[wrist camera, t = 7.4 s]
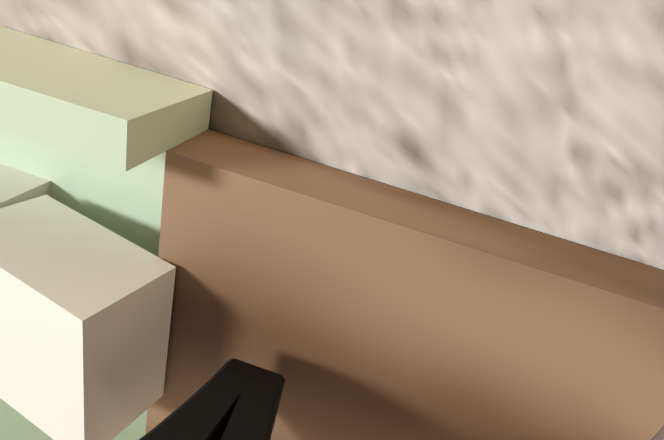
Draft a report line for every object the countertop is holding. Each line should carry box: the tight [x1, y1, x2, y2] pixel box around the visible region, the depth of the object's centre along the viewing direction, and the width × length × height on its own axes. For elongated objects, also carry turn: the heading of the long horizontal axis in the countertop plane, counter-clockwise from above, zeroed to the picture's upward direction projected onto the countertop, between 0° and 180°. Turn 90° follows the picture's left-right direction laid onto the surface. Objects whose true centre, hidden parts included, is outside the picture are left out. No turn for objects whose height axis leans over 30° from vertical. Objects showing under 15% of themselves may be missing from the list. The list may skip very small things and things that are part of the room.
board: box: [146, 129, 664, 440], centre depth 12 cm, size 10×12×2 cm
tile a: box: [0, 195, 176, 440], centre depth 12 cm, size 4×4×2 cm
